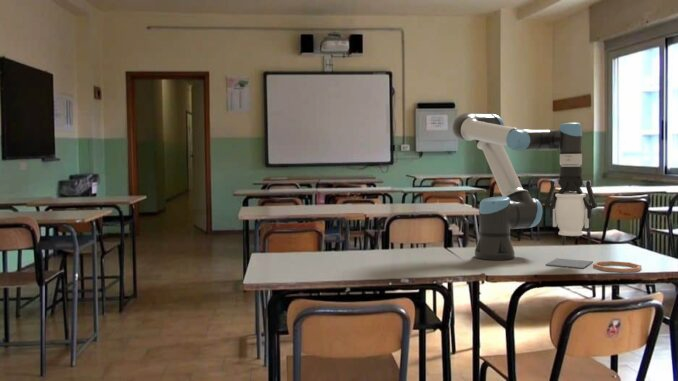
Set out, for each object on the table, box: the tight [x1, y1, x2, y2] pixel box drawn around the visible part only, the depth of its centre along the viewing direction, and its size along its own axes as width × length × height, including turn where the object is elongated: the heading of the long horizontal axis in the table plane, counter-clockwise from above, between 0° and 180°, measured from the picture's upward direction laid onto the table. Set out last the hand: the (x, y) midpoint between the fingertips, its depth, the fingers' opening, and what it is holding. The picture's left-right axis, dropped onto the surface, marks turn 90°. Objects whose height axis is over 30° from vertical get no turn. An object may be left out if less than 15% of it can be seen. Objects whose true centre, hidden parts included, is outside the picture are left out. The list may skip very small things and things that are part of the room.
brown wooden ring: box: [592, 260, 642, 273], centre depth 216 cm, size 15×15×1 cm
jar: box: [554, 192, 587, 237], centre depth 224 cm, size 11×10×15 cm
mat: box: [545, 258, 594, 270], centre depth 225 cm, size 13×15×1 cm
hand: (570, 227), depth 224 cm, fingers closed on jar, 10 cm apart
